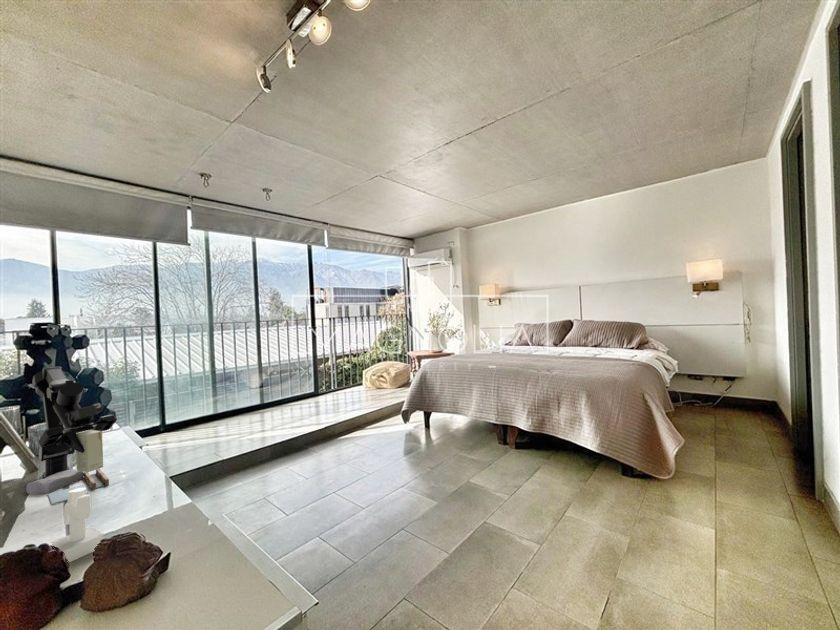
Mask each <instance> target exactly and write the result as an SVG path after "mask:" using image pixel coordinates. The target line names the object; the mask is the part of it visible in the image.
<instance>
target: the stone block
mask: <svg viewBox="0 0 840 630" xmlns="http://www.w3.org/2000/svg"><path fill="white" fill-rule="evenodd" d="M69 469H70V468H69ZM83 478H84V472H83V471H77V469H70V470H66V471H62V472H58V473H55V474H53V475H50V476H48V477H46V478H45V477H44V478H42V479H37V480H35V481H30V482H28V483H27V484H26V489H25V490H26V494H29V493H31V494H30V495H32V494H33V495H35V494H37V495H38V494H40V495H44V494H46V495H48V494H51V493H54V492H55V491H58V490H59V489H62V488H65V487H67V486H69V485H72V484H74V483H76V482H79V481H81V480H82V479H83Z"/></svg>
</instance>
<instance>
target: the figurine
mask: <svg viewBox="0 0 840 630" xmlns="http://www.w3.org/2000/svg"><path fill="white" fill-rule="evenodd" d="M86 490H87V488H86V487H85V488H77V489H74V490H72V491H71V490H70V491H69V492H68V498H67V499H68V500H67V501H66V503H65V505H64V508H63V523H64V525H69V529H68V530H69V534H68V535H66V536H64V537H61V538H59V539H56V540H54V541H51V542H50V544H51V546H52V547H53V546H55V547H58V548H60V549H61V550H62V551H63V552H64V553H65V556H66V558H67V559H68V561H69V562H68V561H67V562H68V563H71V562H73V561H76V560H78V559H80V558H81V557H82V558H83V557H85V556H86V555H90V553H93V552H94V551H93V549H94V548H95V547H96V546H97V547H98V545H99V543H100V542H101V540H102V538H103V537H104V535H105V533H104V532H102V531H100V530H98V529H97V528H95V527H94V526H92V525H91V526H88V527H86V520H87V519H88V518H89V517H90V515H91V511H92V506H91V505H92V497H91V495H90V494H87V495H86ZM97 544H98V545H97ZM97 547H96V548H97Z"/></svg>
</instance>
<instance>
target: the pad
mask: <svg viewBox="0 0 840 630" xmlns="http://www.w3.org/2000/svg"><path fill="white" fill-rule="evenodd" d="M77 488H86V487H85V486H84V484H81V485H80V484H79V485H76V486H72V487H70V488H66V489H62V490H59V491H58V490H57V491H56V492H55V491H54V492H50V493H47V496H48V498H49V500H50V501H49V502H50V504H51V505H52V506H53V505H56V504H61V503H65V502H67V501H68V499H67V498H68V492H69V491H70V490H71V491H72V490H74V489H77ZM86 495H89V492H88V491H87V489H86Z"/></svg>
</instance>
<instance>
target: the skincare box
mask: <svg viewBox="0 0 840 630" xmlns="http://www.w3.org/2000/svg"><path fill="white" fill-rule="evenodd" d="M76 436H77V438H78V440H79V441H80V443H81V444H82V446H83V448H84V450H85V451H84V453H81V452H78V451H76V450H75V458H76V459H75V461H76V465H75V466H76V470H77V471H83V472H88V473H90V472H94V471H96V469H99V468H100V469H103V468H104V450H103V449H104V447H103V431H96V430H87V431H83V432H79V433H76Z"/></svg>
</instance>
